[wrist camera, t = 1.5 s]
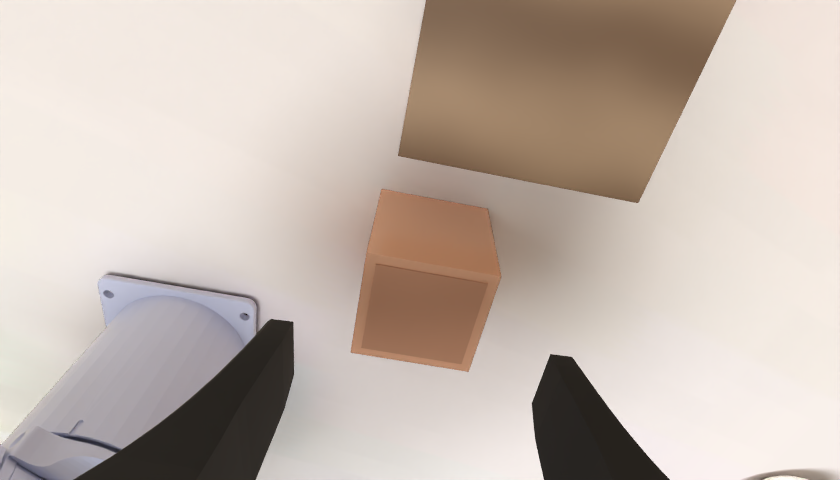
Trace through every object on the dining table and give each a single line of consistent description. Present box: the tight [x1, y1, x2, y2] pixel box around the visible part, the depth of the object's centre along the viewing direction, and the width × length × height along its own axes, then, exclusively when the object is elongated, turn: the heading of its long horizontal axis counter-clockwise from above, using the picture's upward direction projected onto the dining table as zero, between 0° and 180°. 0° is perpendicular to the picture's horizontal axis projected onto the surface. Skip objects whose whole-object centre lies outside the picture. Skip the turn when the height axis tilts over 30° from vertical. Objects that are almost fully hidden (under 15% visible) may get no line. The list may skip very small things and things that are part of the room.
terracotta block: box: [351, 189, 501, 372], centre depth 21 cm, size 5×5×6 cm
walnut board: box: [398, 0, 736, 203], centre depth 18 cm, size 10×10×2 cm
